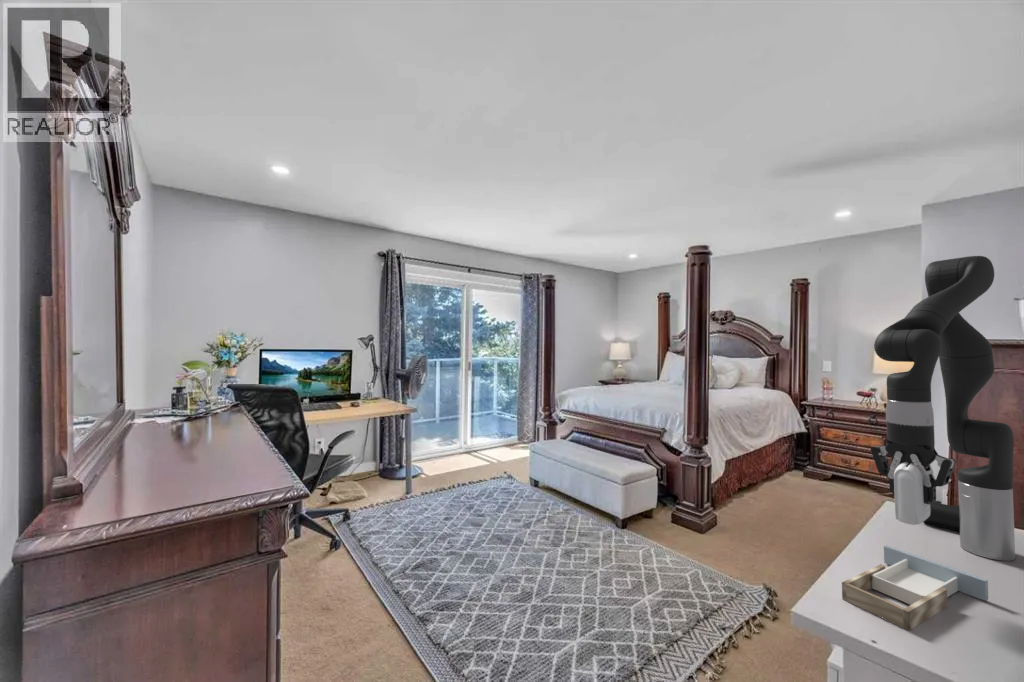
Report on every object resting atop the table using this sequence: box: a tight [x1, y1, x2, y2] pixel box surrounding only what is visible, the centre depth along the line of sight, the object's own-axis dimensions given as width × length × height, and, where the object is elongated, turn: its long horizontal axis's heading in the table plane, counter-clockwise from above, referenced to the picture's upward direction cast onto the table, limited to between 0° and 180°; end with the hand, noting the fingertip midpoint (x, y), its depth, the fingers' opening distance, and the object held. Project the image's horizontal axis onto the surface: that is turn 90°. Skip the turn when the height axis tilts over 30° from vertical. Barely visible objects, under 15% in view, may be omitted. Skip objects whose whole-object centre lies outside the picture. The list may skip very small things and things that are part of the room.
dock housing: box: [841, 564, 948, 631], centre depth 87 cm, size 16×11×4 cm
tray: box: [871, 544, 989, 606], centre depth 91 cm, size 16×17×4 cm
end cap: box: [922, 500, 960, 532], centre depth 120 cm, size 10×7×7 cm
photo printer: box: [894, 462, 931, 526], centre depth 91 cm, size 10×4×12 cm, turn 123°
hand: (912, 498), depth 91 cm, fingers closed on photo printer, 4 cm apart
